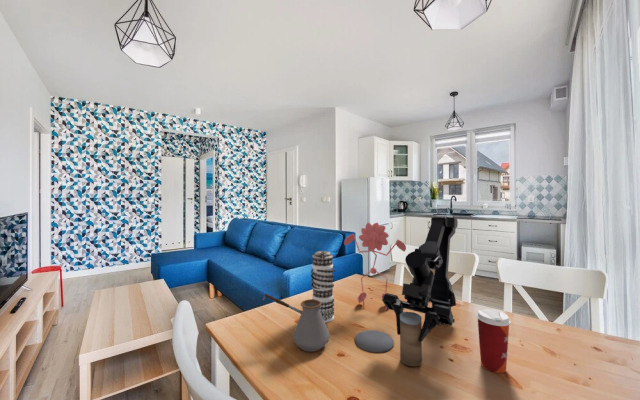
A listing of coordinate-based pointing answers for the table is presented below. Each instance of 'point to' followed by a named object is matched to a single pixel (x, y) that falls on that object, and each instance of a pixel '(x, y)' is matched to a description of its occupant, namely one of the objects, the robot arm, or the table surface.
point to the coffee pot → (308, 325)
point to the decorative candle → (323, 283)
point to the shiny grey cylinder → (410, 338)
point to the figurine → (373, 247)
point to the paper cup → (493, 339)
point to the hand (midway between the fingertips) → (408, 337)
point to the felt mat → (374, 341)
